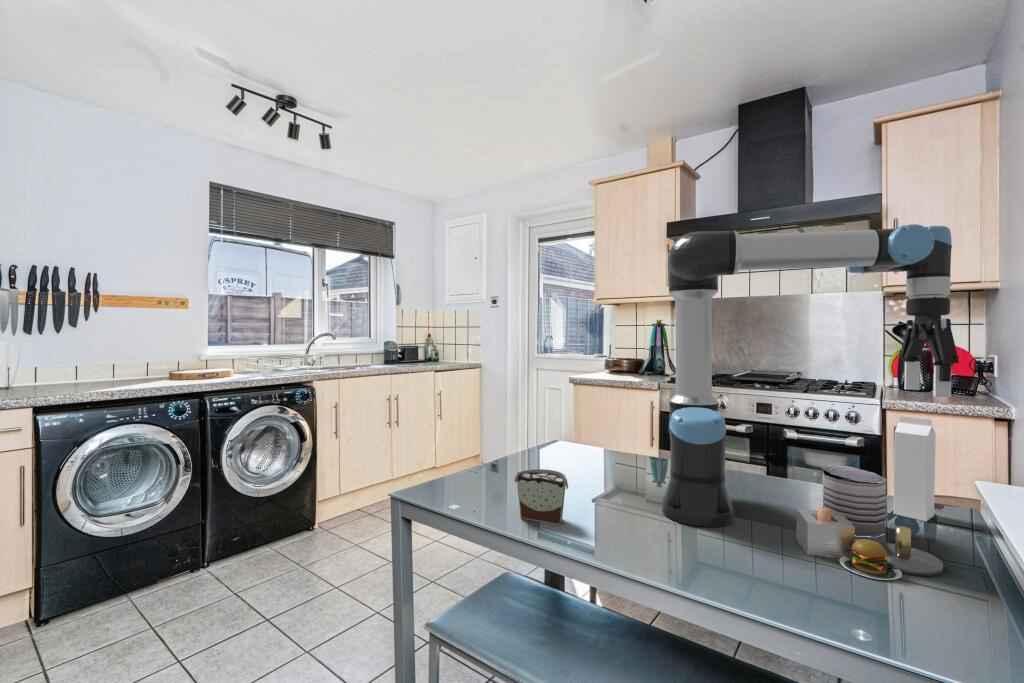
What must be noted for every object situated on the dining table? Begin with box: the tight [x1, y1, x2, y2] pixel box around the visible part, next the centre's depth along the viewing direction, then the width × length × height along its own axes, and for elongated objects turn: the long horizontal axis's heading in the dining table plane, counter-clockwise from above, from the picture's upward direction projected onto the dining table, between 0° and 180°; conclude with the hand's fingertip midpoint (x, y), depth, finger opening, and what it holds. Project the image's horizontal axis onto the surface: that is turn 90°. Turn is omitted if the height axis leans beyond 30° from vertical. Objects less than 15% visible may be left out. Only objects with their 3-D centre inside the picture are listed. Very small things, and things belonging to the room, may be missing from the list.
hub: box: [878, 525, 944, 577], centre depth 90 cm, size 11×11×6 cm
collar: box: [795, 508, 856, 559], centre depth 95 cm, size 8×8×6 cm
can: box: [820, 464, 888, 537], centre depth 106 cm, size 11×11×12 cm
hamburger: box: [838, 538, 903, 581], centre depth 87 cm, size 12×12×6 cm
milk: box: [893, 415, 937, 522], centre depth 112 cm, size 6×6×22 cm
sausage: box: [817, 507, 831, 521], centre depth 95 cm, size 2×2×8 cm
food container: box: [514, 468, 569, 526], centre depth 112 cm, size 12×6×10 cm, turn 65°
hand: (926, 393), depth 111 cm, fingers open, 13 cm apart
